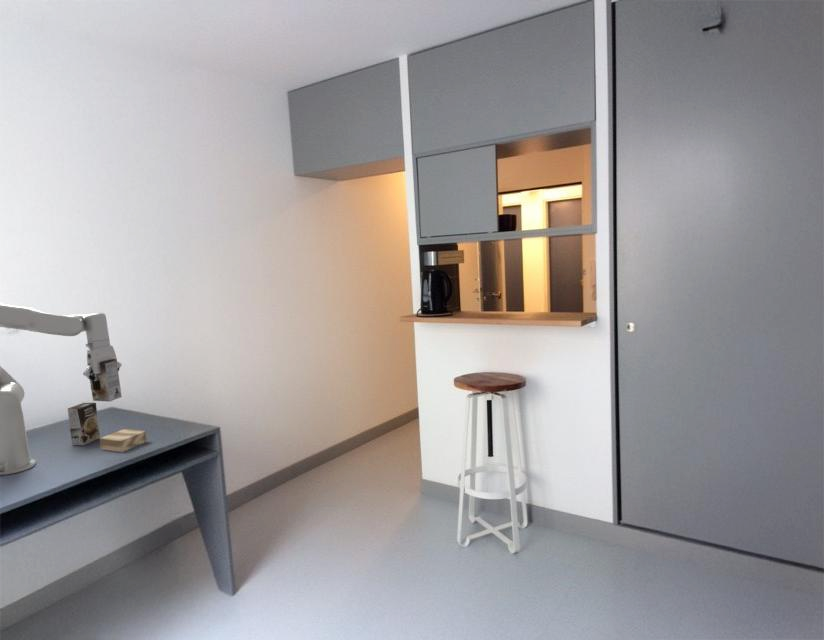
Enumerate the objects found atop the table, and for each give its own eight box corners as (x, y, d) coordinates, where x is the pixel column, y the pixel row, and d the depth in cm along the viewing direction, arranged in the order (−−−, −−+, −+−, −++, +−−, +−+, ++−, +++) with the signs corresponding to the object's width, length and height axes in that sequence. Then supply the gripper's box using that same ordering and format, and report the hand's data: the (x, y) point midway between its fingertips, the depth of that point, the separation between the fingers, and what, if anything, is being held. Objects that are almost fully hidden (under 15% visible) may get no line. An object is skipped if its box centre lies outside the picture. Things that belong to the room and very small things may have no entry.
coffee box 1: (84, 445, 223) (79, 408, 221) (71, 445, 224) (66, 408, 222) (101, 437, 232) (96, 402, 230) (88, 437, 233) (83, 401, 231)
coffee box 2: (91, 401, 212) (85, 362, 210) (105, 396, 218) (99, 358, 216) (109, 401, 209) (103, 362, 207) (122, 397, 216) (117, 358, 213)
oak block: (122, 453, 214) (120, 441, 213) (101, 450, 218) (99, 438, 217) (146, 442, 225) (145, 431, 224) (126, 439, 229) (124, 428, 229)
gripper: (84, 348, 201) (91, 394, 204) (125, 340, 217) (131, 382, 220) (71, 348, 204) (78, 393, 207) (112, 339, 220) (118, 381, 223)
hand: (105, 387), depth 213 cm, fingers closed on coffee box 2, 6 cm apart
